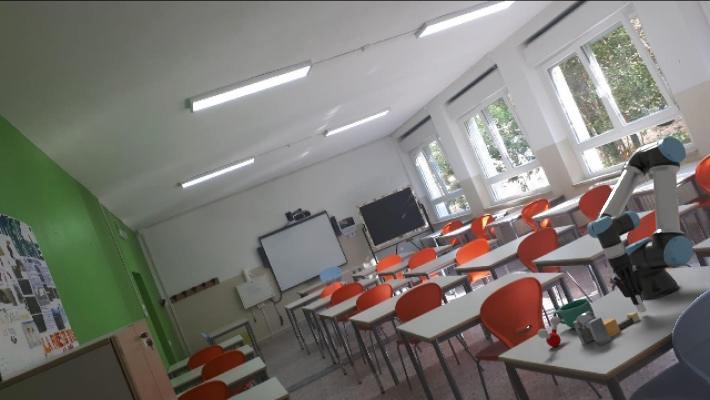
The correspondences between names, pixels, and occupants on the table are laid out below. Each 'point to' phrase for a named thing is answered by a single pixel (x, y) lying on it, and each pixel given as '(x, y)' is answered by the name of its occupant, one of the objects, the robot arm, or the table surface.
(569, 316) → the mug
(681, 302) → the table surface
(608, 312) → the table surface
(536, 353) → the table surface
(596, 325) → the housing
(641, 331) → the table surface
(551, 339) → the molecular model
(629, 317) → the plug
